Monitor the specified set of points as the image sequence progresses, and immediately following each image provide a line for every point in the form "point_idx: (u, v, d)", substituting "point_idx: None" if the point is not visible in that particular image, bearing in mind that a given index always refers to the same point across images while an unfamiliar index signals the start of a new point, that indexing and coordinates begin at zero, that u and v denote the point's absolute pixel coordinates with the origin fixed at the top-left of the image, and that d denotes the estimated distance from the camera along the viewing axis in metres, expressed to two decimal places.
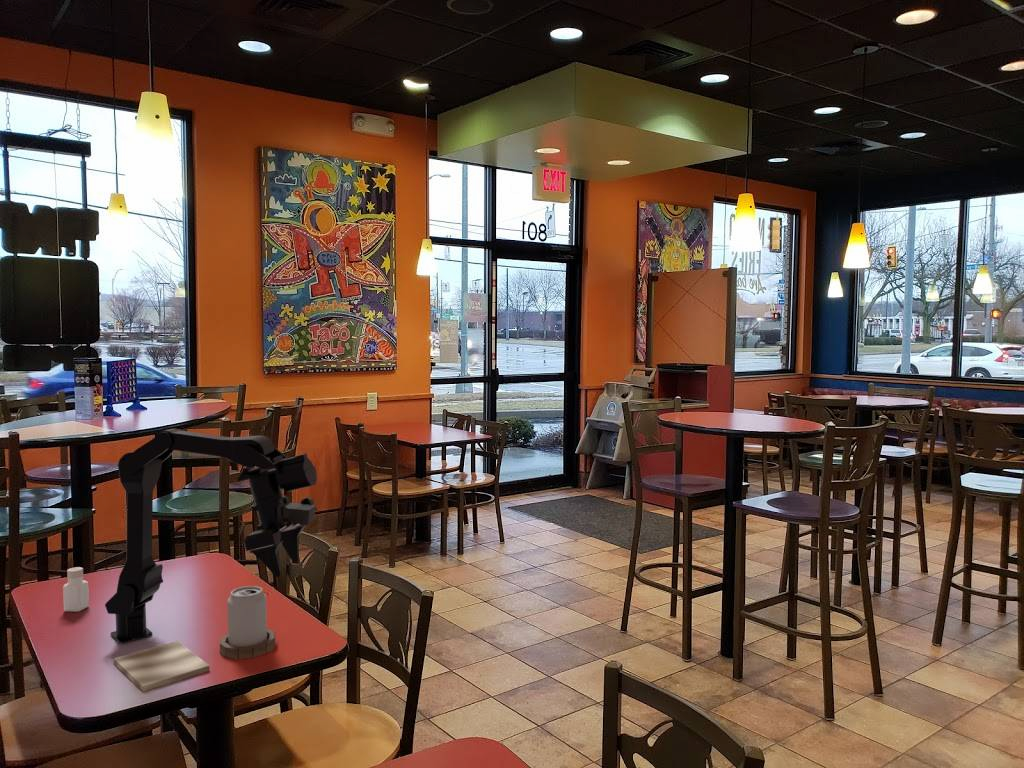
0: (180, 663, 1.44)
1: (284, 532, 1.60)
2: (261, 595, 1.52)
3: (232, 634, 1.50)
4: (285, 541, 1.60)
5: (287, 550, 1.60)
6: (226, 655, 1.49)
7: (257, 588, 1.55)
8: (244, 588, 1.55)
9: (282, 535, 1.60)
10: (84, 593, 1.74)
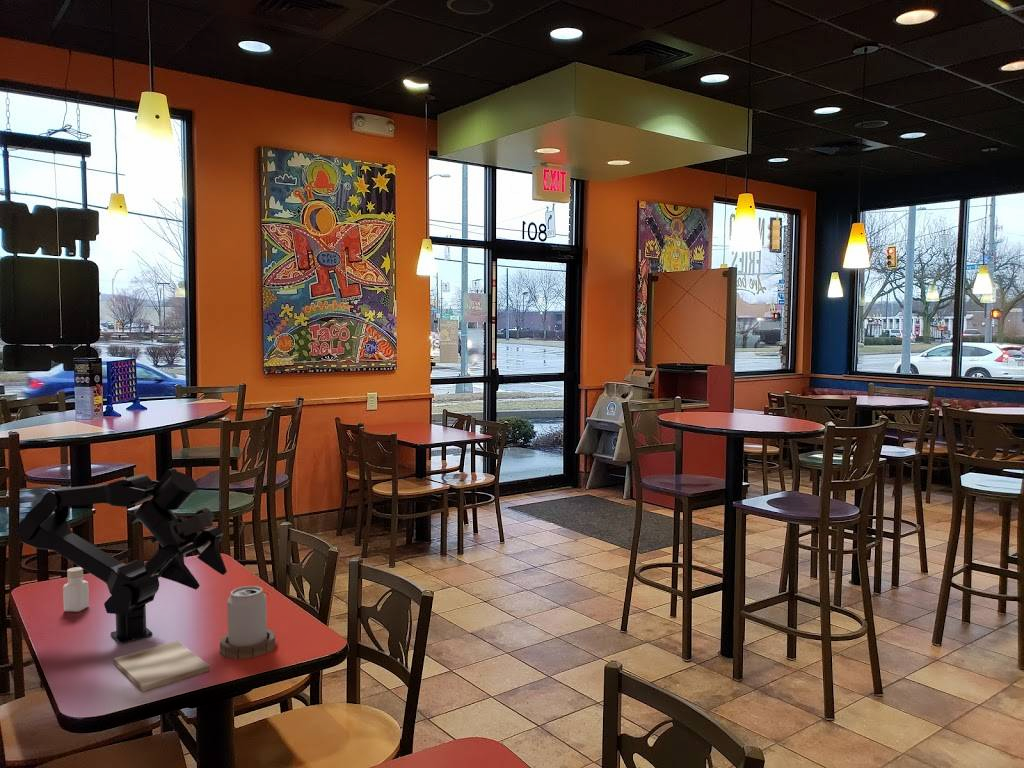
0: (180, 663, 1.44)
1: (203, 552, 1.60)
2: (261, 595, 1.52)
3: (232, 634, 1.50)
4: (207, 559, 1.60)
5: (212, 566, 1.59)
6: (226, 655, 1.49)
7: (257, 588, 1.55)
8: (244, 588, 1.55)
9: (202, 555, 1.60)
10: (84, 593, 1.74)
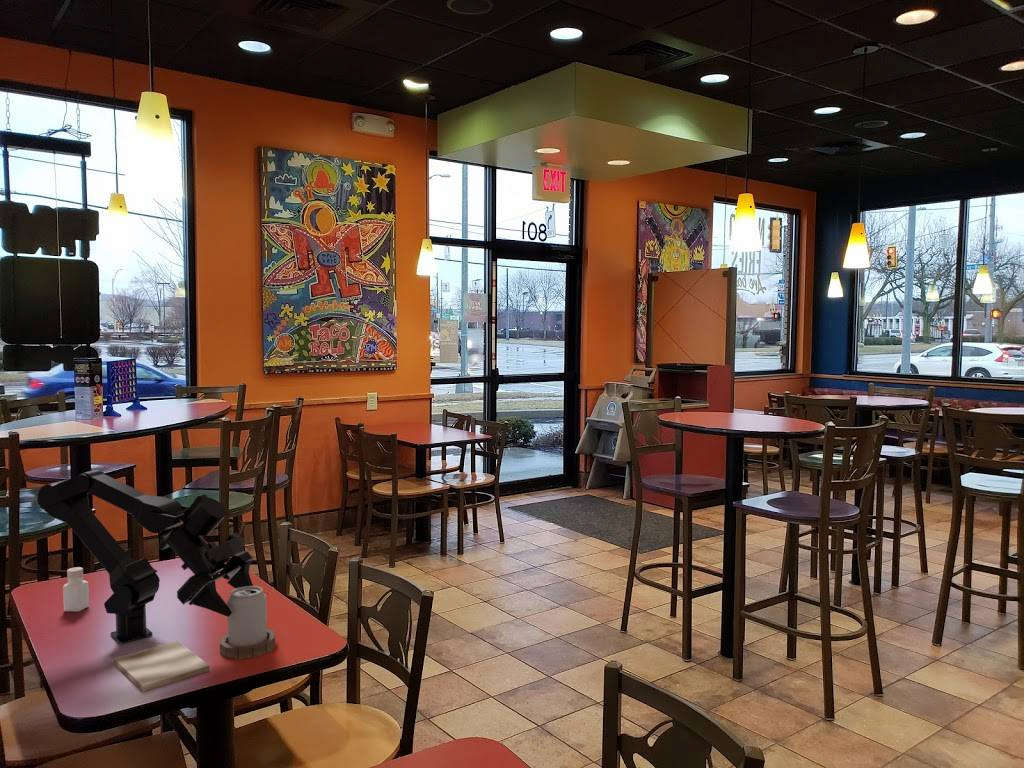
0: (180, 663, 1.44)
1: (233, 577, 1.59)
2: (261, 595, 1.52)
3: (232, 634, 1.50)
4: (237, 585, 1.59)
5: None
6: (226, 655, 1.49)
7: (257, 588, 1.55)
8: (244, 588, 1.55)
9: (233, 581, 1.59)
10: (84, 593, 1.74)
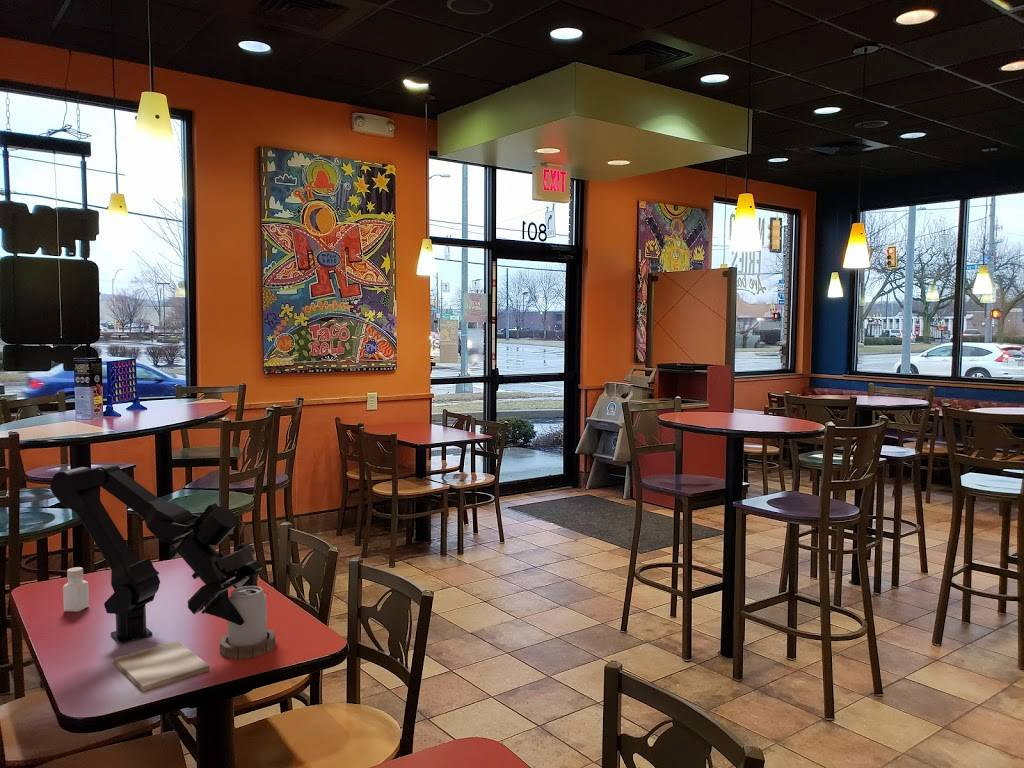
0: (180, 663, 1.44)
1: None
2: (261, 595, 1.52)
3: (232, 633, 1.50)
4: None
5: None
6: (226, 655, 1.49)
7: (257, 588, 1.55)
8: (244, 588, 1.55)
9: None
10: (84, 593, 1.74)
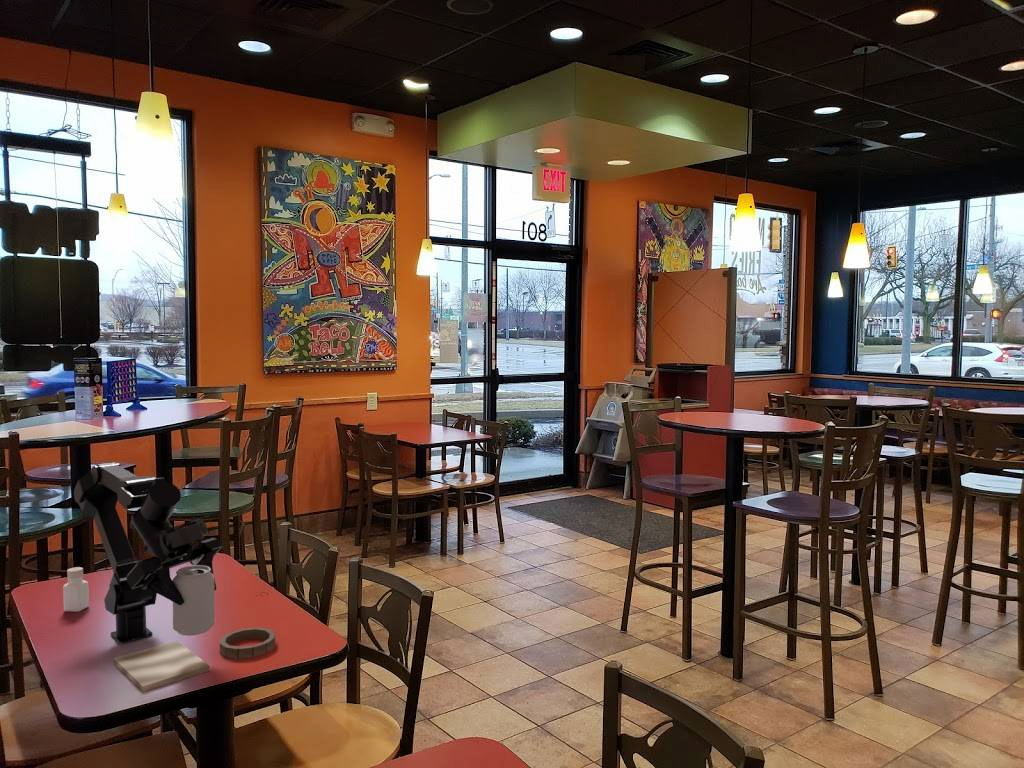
0: (180, 663, 1.44)
1: None
2: (206, 576, 1.44)
3: (174, 613, 1.43)
4: None
5: None
6: (226, 655, 1.49)
7: (207, 568, 1.47)
8: (195, 567, 1.48)
9: None
10: (84, 593, 1.74)
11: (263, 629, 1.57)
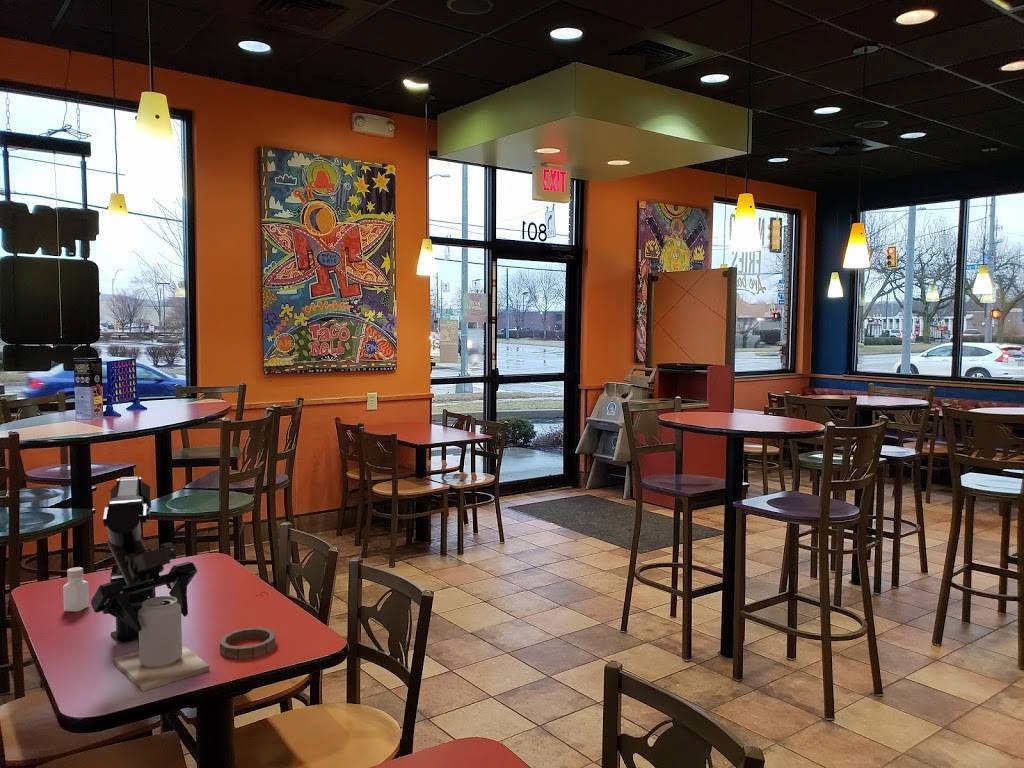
0: (180, 663, 1.44)
1: (172, 588, 1.50)
2: (170, 608, 1.42)
3: (139, 645, 1.42)
4: None
5: None
6: (226, 655, 1.49)
7: (174, 600, 1.45)
8: (164, 598, 1.46)
9: (172, 592, 1.50)
10: (84, 593, 1.74)
11: (263, 629, 1.57)
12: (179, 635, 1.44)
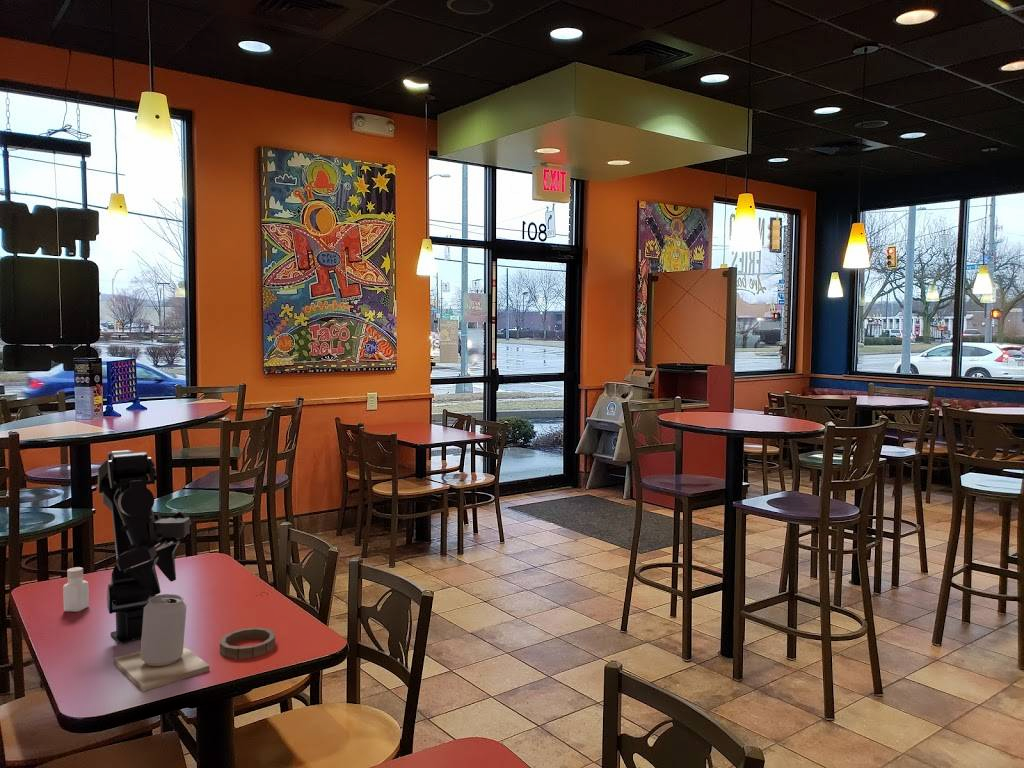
0: (180, 663, 1.44)
1: (157, 551, 1.55)
2: (176, 607, 1.43)
3: (141, 641, 1.42)
4: (159, 560, 1.55)
5: (162, 569, 1.55)
6: (226, 655, 1.49)
7: (180, 598, 1.46)
8: (170, 596, 1.47)
9: (155, 555, 1.55)
10: (84, 593, 1.74)
11: (263, 629, 1.57)
12: (182, 634, 1.44)
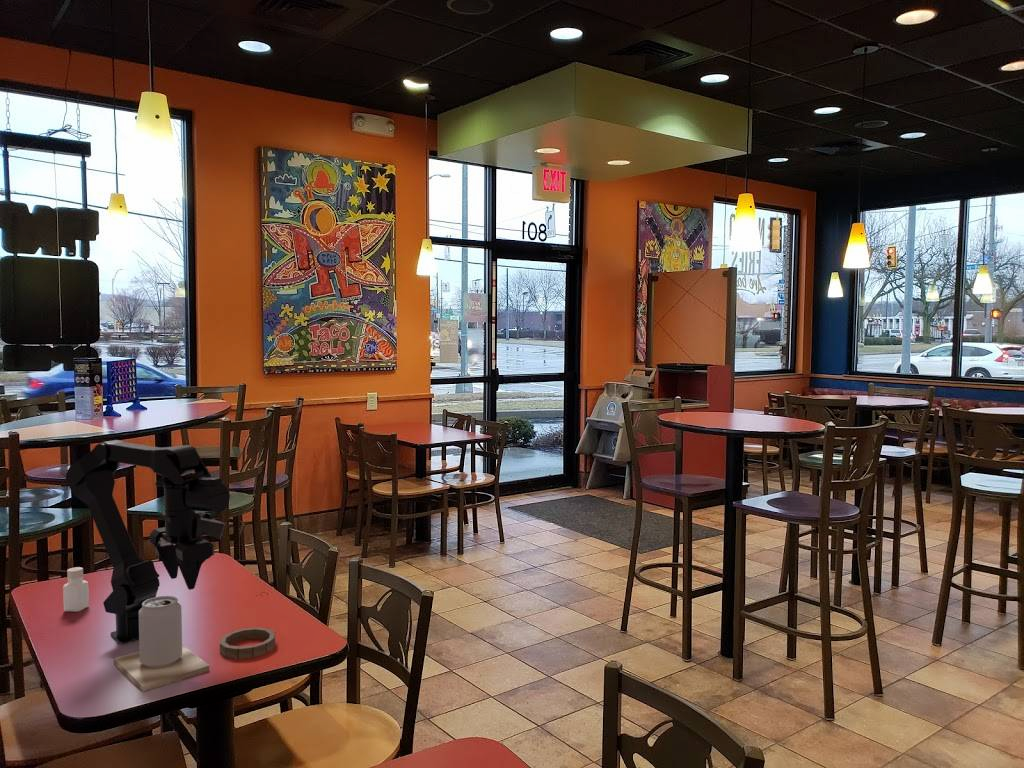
0: (180, 663, 1.44)
1: (166, 547, 1.56)
2: (170, 608, 1.42)
3: (139, 644, 1.42)
4: (166, 556, 1.56)
5: (167, 565, 1.56)
6: (226, 655, 1.49)
7: (175, 600, 1.45)
8: (165, 597, 1.46)
9: (164, 550, 1.55)
10: (84, 593, 1.74)
11: (263, 629, 1.57)
12: (179, 635, 1.44)
